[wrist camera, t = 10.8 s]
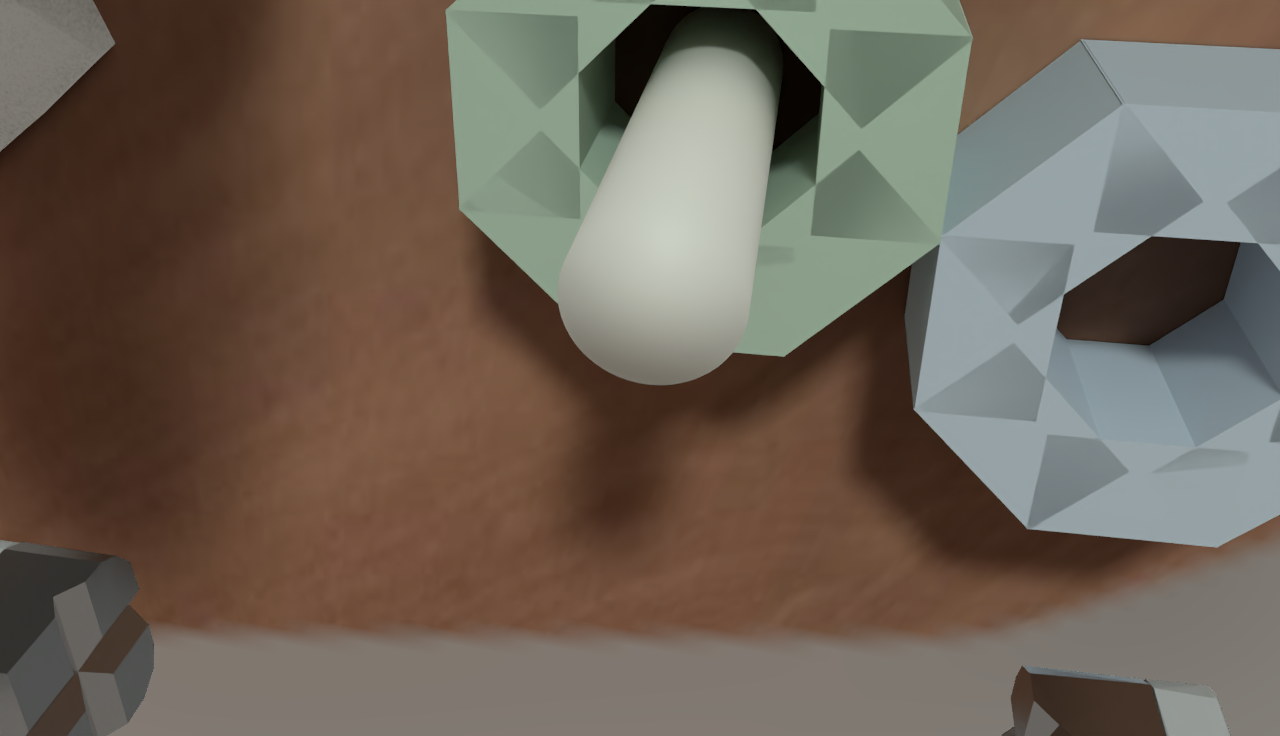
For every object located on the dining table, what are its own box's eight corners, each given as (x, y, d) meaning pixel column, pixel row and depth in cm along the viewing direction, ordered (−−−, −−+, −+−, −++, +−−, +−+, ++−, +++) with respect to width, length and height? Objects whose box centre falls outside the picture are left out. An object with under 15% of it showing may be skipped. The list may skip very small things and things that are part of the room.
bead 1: (974, -166, 24) (1000, -135, 20) (910, 277, 29) (921, 368, 25) (495, -180, 25) (433, -154, 22) (513, 248, 30) (466, 331, 27)
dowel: (788, 6, 26) (756, 219, 16) (778, 127, 28) (744, 392, 18) (663, 0, 27) (555, 204, 17) (661, 120, 28) (559, 377, 18)
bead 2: (1428, 55, 25) (1535, 125, 21) (1289, 448, 30) (1355, 561, 26) (944, 31, 26) (962, 93, 22) (889, 413, 31) (896, 516, 28)
